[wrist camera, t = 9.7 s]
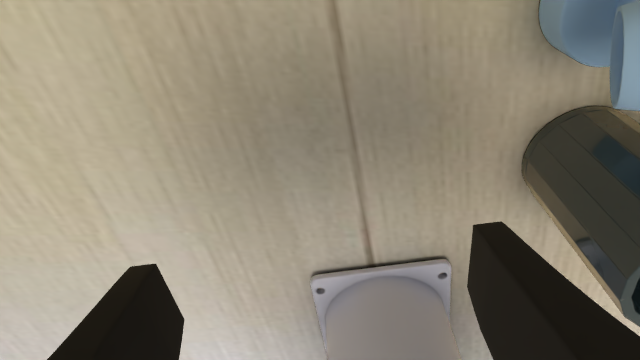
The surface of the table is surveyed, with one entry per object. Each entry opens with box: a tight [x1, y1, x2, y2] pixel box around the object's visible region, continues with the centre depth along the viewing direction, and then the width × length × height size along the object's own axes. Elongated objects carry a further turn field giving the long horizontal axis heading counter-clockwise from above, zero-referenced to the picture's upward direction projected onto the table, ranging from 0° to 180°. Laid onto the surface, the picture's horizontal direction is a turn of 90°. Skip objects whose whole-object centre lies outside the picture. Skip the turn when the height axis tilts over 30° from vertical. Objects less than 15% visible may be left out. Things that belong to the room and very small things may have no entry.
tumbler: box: [522, 106, 640, 327], centre depth 17 cm, size 5×5×8 cm
